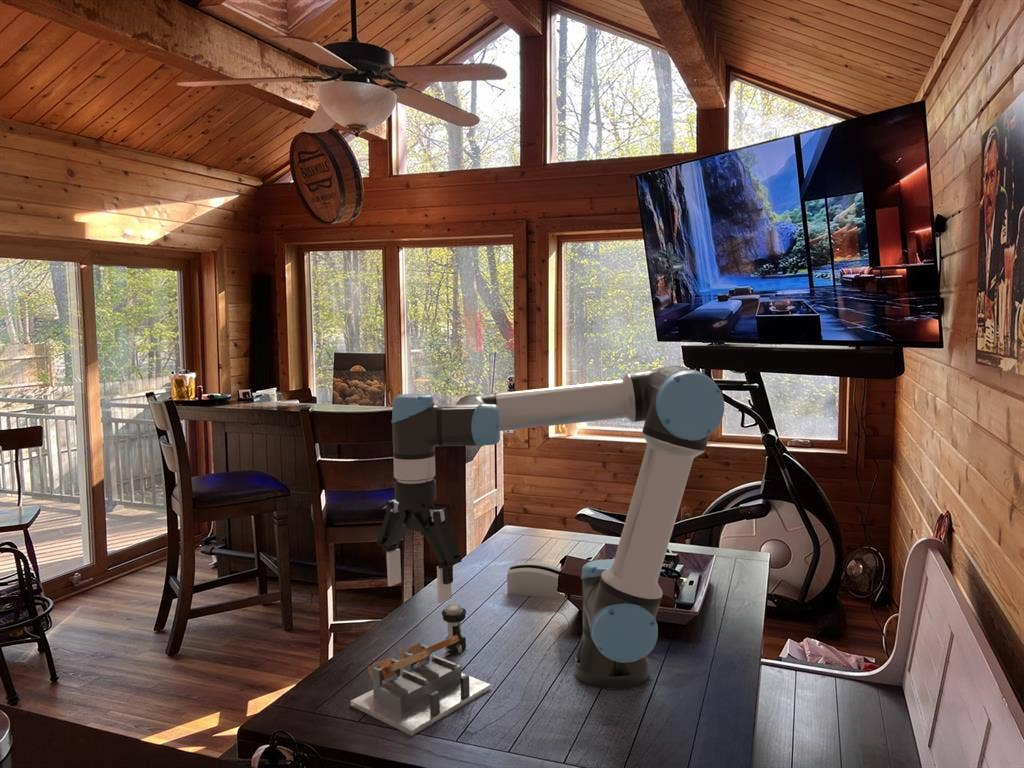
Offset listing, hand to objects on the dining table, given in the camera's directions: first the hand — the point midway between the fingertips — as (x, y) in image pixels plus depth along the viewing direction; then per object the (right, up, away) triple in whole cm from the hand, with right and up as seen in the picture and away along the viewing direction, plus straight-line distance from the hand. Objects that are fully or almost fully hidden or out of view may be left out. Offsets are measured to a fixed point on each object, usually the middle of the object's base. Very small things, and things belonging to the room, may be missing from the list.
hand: (418, 592), depth 141 cm
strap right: (+1, -15, +10) cm, 19 cm away
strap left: (-4, -16, +4) cm, 17 cm away
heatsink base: (0, -22, +7) cm, 23 cm away
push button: (+4, -21, +26) cm, 34 cm away
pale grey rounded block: (+24, -17, +59) cm, 66 cm away
